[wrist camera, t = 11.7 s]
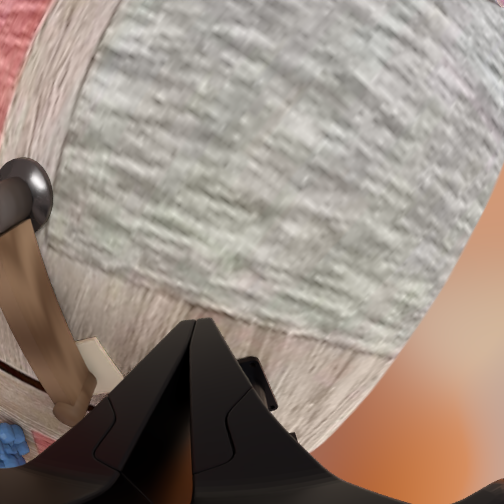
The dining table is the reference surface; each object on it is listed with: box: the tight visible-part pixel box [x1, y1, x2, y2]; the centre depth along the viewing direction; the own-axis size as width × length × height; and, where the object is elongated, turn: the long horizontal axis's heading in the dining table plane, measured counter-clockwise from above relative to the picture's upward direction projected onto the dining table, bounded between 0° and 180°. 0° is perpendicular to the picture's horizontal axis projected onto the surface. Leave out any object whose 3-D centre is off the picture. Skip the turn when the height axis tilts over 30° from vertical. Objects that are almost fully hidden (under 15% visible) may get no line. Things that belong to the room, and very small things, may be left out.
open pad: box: [75, 337, 124, 395], centre depth 22 cm, size 6×6×1 cm
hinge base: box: [0, 157, 53, 232], centre depth 16 cm, size 5×5×1 cm
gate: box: [0, 177, 97, 427], centre depth 15 cm, size 18×3×8 cm, turn 6°
